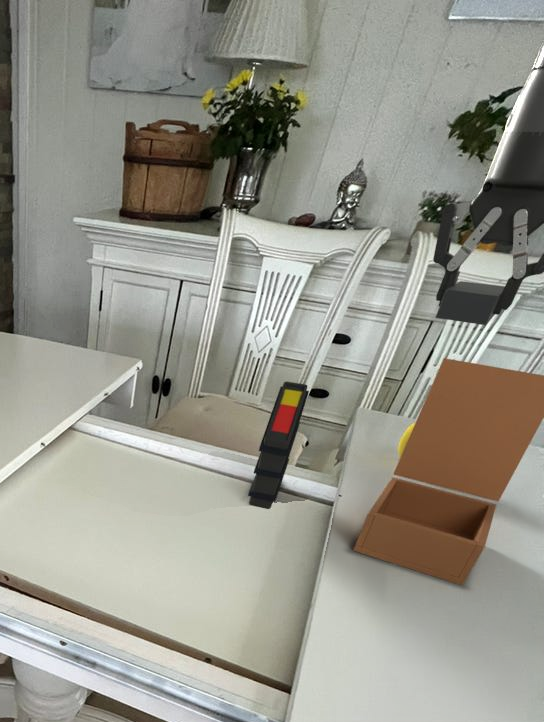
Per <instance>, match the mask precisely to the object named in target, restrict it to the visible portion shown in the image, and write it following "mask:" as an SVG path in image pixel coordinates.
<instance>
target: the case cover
mask: <svg viewBox="0 0 544 722" xmlns="http://www.w3.org/2000/svg"><path fill="white" fill-rule="evenodd" d="M426 395H427V396H426V398H425V400H424V402H423V405H422V407H421V409H420V411H419V414H418V417H417V418H416V421H415V422H416V423H415V422H414V423H415V425H414V428H413V430H412V432H411V435H410V437H409V439H408V441H407V444H406V446H405V448H404V451H403V453H402V455H401V458H400V457H399V459H398V462H397V465H396V467H395V469H394V472H393V475H394V476H397V477H402V478H405V479H408V480H409V479H410V480H413V481H417V482H420V483H425V484H429V485H433V486H435V487H440V488H444V489H447V490H452V491H455V492H460V493H464V494H468V495H471V496H474V497H479V498H483V499H486V500H490V501H495V502H499V501H500V499H501V498H502V497H503V494H504V492H505V491H506V489H507V487H508V485H509V483H510V481H511V480H512V477H513V476H514V474H515V473H516V470H517V468H518V467H519V464H520V462H521V461H522V459H523V457H524V456H525V454H526V451H527V450H528V448H529V446H530V444H531V442H532V440H533V439H534V436H535V435H536V433H537V431H538V429H539V427H540V425H541V424H542V422H543V420H544V374H539V373H533V372H526V371H521V370H514V369H510V368H503V367H498V366H491V365H487V364H486V365H485V364H482V363H481V364H480V363H474V362H468V361H462V360H457V359H452V358H445V357H444V358H442V361H441V363H440V365H439V367H438V370H437V373H436V374H435V377H434V380H433V382H432V384H431V387H430V389H429V391H428V393H427V394H426Z"/></svg>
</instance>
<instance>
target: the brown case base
mask: <svg viewBox="0 0 544 722" xmlns="http://www.w3.org/2000/svg"><path fill="white" fill-rule="evenodd" d="M497 505H498V504H497V503H493V502H490V501H486V500H482V499H479V498H478V499H477V498H475V497H470V496H466V495H463V494H459V493H455V492H451V491H448V490H444V489H440V488H436V487H432V486H428V485H425V484H421V483H417V482H414V481H413V482H412V481H408V480H405V479H402V478H397V477H394V476H392V477H391V478H390V480H389V481H388V483H387V484H386V486H385V487H384V488H383V490H382V491H381V493H380V495H379V496H378V498H377V500H376V501H375V502H374V504H373V505H372V507H371V508H370V510H369V511H368V513H367V515H366V517H365V520H364V523H363V524H362V528H361V529H360V532H359V535H358V537H357V539H356V541H355V544H354V547H353V550H352V551H353V552H356V553H360V554H363V555H366V556H369V557H372V558H375V559H378V560H381V561H384V562H387V563H391V564H394V565H397V566H400V567H403V568H406V569H410V570H412V571H416V572H419V573H422V574H425V575H428V576H431V577H435V578H438V579H441V580H444V581H448V582H450V583H453V584H456V585H459V586H464V584H465V582H466V580H467V579H468V577H469V576H470V574H471V572H472V570H473V568H474V566H475V565H476V563H477V561H478V559H479V558H480V556H481V554H482V553H483V551H484V549H485V547H486V543H487V540H488V537H489V533H490V529H491V527H492V522H493V519H494V515H495V511H496V508H497Z"/></svg>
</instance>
